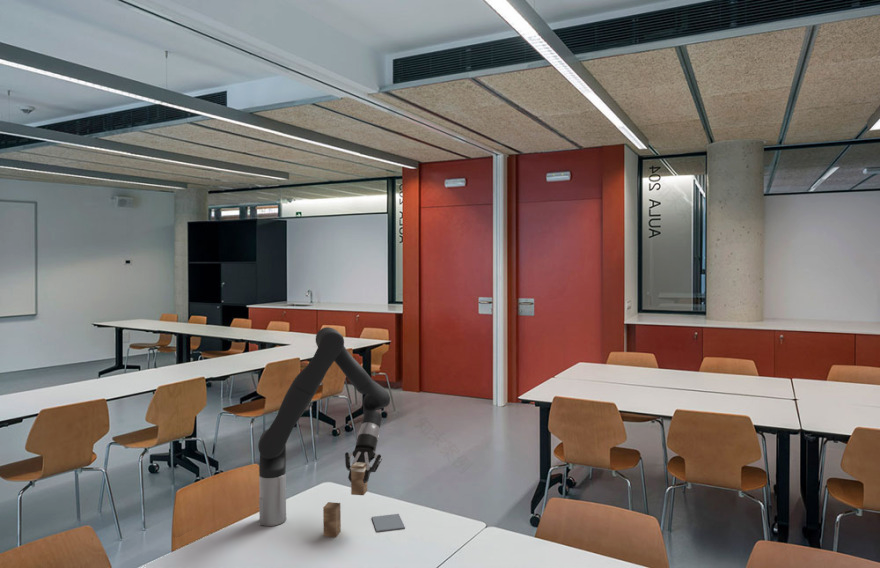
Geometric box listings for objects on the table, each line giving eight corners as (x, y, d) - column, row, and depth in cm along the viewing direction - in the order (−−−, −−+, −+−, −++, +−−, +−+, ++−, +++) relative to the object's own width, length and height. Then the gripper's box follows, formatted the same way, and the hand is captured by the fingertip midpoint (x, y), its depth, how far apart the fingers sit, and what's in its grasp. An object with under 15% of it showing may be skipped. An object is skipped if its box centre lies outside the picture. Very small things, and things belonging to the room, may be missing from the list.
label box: (351, 494, 203) (351, 465, 203) (355, 489, 208) (355, 461, 207) (363, 495, 202) (363, 466, 202) (367, 490, 207) (367, 462, 207)
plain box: (323, 536, 198) (323, 507, 198) (328, 530, 202) (328, 502, 202) (336, 537, 197) (335, 508, 197) (340, 531, 201) (340, 503, 201)
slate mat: (376, 532, 201) (376, 530, 200) (371, 518, 212) (371, 516, 212) (405, 528, 203) (405, 527, 203) (398, 515, 215) (398, 513, 215)
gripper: (347, 431, 213) (335, 475, 201) (384, 433, 211) (375, 478, 199) (351, 441, 219) (340, 485, 207) (388, 444, 216) (379, 487, 204)
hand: (357, 481), depth 203 cm, fingers closed on label box, 4 cm apart
